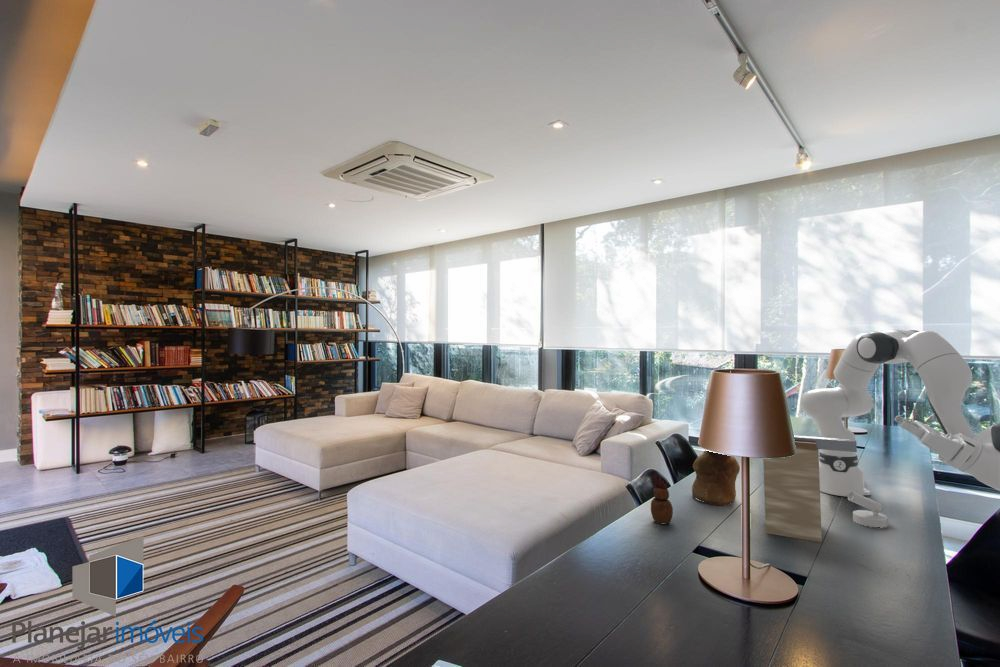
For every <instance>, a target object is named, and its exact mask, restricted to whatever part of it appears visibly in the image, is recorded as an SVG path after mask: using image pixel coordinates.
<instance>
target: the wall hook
mask: <svg viewBox="0 0 1000 667" xmlns="http://www.w3.org/2000/svg"><path fill="white" fill-rule="evenodd" d="M847 500H848V501H849V502H852V503H855V504H856V505H859V506H861V507H863V508H866V509H867V510H865V509H857V510H853V511H852V520H853V522H854V523H855V522H856V524H857V523H858V524H857V525H860V524H861V525H860V526H863V525H864V526H863V527H867V526H869V527H868V528H872V527H880V528H879V529H884V528H883V527H886V528H888V527H887V526H889V522H888V521H889V520H888V519H889V518H888V516H887V515H886V514H884V513H881V512H882V510H883V506H882V504H881V503H879V502H878V501H876V500H873V499H871V498H868V497H866V496H865V495H863V496H862V495H859V494H857V493H855V492H850V493H849V495H848V497H847Z"/></svg>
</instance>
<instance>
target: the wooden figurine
mask: <svg viewBox="0 0 1000 667" xmlns="http://www.w3.org/2000/svg"><path fill="white" fill-rule="evenodd" d="M669 498H670V491H669V489H668V486H667V483H666V482H665V483H664V480H662V478H661V476H658V478H657V474H654V489H653V498H652V500H651V502H650V512H651V516H652V519H653V520H654V522H656V523H657V522H659V523H668V524H669V523H671V521H672V518H673V514H674V509H673V505H672V502H671V501H670V500H669ZM659 523H658V524H659Z"/></svg>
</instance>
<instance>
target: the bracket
mask: <svg viewBox="0 0 1000 667" xmlns="http://www.w3.org/2000/svg"><path fill="white" fill-rule="evenodd" d="M793 435H794V434H793ZM794 439H795V441H800V442H813V443H816V449H818V450H820V449H823V450H835V451H847V452H856V453H857V452H858V450H857V449H858V447H857V440H856V439H855V440H854V439H839V438H825V437H820V436H809V435H808V436H807V435H797V434H796V435H794Z"/></svg>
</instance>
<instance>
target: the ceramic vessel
mask: <svg viewBox="0 0 1000 667" xmlns="http://www.w3.org/2000/svg"><path fill="white" fill-rule="evenodd" d="M740 468H741V467H740V464H739V462H738V461H737V459H736V457H735V456H733V455H732V456H727V455H722V454H718V453H713V452H709V451H706V450H704V451H703V452H702V454H700V455H698V456H697V457H696V459H695V460H694V461H693V464H692V469H693V471H694V472H695V475H696V477H695V479H694V480H693V484H692V486H691V494H692V497H693V496H694V497H695V498H697V499H699V500H701V501H704V502H706V503H705V504H708V503H710V504H709V505H714V504H715V505H714V506H729V505H731V504H733V502H735V501H736V498H737V497H736V496H737V491H736V482H737V481H736V480H737V478H738V475H739V473H740ZM730 503H731V504H730ZM728 504H729V505H728Z"/></svg>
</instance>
